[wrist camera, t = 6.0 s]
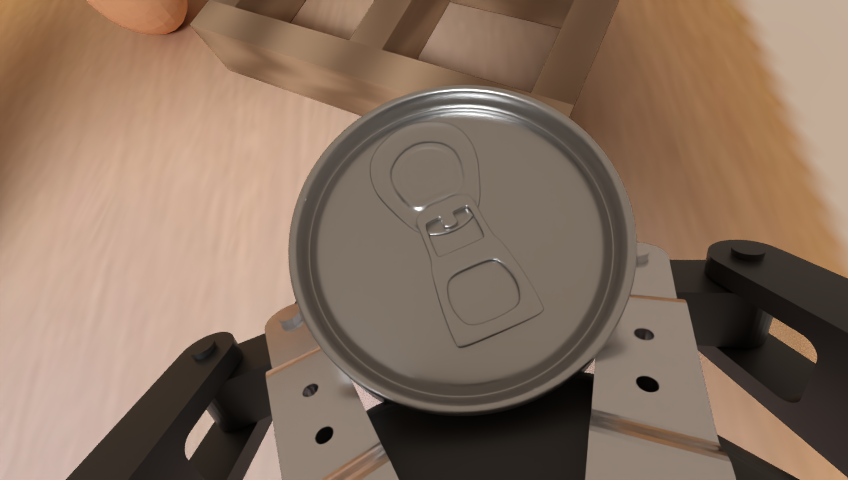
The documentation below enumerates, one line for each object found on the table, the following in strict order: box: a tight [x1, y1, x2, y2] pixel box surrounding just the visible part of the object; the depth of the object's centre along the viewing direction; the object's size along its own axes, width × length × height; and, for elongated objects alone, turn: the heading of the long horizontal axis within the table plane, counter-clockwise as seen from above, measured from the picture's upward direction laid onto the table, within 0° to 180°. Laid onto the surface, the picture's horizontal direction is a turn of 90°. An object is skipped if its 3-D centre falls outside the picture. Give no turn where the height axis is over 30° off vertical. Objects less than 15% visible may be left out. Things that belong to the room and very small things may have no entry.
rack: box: [190, 0, 619, 118], centre depth 21 cm, size 22×12×4 cm, turn 64°
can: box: [288, 85, 637, 416], centre depth 11 cm, size 6×6×12 cm
